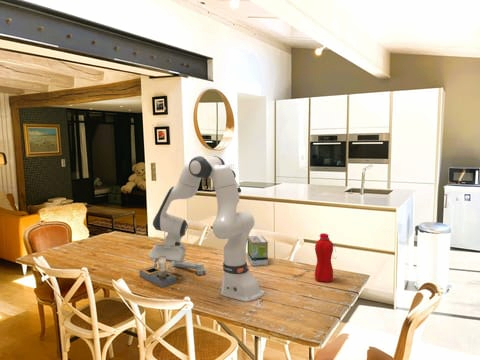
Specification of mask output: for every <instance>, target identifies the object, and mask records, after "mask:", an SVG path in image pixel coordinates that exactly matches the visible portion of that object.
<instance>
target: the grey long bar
mask: <svg viewBox="0 0 480 360" xmlns="http://www.w3.org/2000/svg"><path fill="white" fill-rule="evenodd" d="M174 267H175V268H178V269H179V268H182V269H193V270H195V273H196V275H197V276H200V275H202V276H204V275H206V274H207V273H206V271H207V268H206V267H205V265H204V263H202V262H201V263H195V262H191V261H183V262H182V263H176V264H175V265H174V266H173V268H174Z"/></svg>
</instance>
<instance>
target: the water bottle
mask: <svg viewBox="0 0 480 360" xmlns="http://www.w3.org/2000/svg"><path fill="white" fill-rule="evenodd" d="M318 236H319V239H318V240H317V241H316V243H315V245H314V251H315V256H316V265H315V270H314V279H315V281H318V282H323V283H330V282H332V281H333V278H334V269H333V265H332V257H333V253H334V251H335V252H337V251H336V249H335V250H334V248H336V247H335V245H334V243H333V242H332V240H330V237H329V234H328V233H325V232H324V233H320V234H319V235H318ZM334 259H335V260H336V259H337V257H335V258H334Z"/></svg>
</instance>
